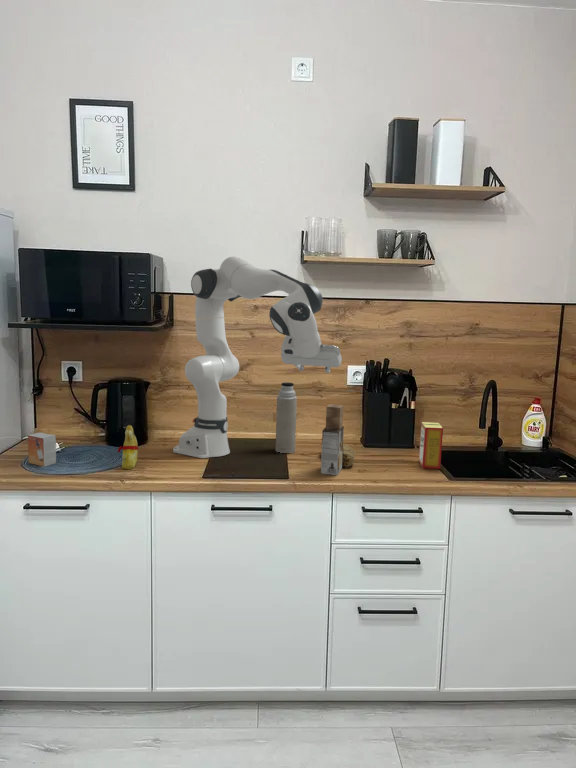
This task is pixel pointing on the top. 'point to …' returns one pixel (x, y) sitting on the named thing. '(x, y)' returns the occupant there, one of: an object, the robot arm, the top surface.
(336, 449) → the coffee box
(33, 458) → the small box
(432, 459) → the baking soda box
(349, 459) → the sponge
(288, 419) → the thermos bottle
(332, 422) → the walnut block
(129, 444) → the chocolate bunny
